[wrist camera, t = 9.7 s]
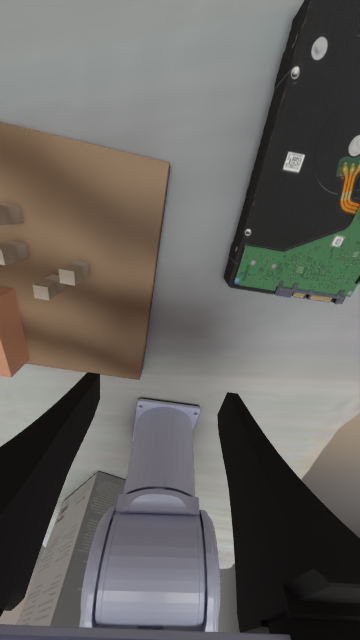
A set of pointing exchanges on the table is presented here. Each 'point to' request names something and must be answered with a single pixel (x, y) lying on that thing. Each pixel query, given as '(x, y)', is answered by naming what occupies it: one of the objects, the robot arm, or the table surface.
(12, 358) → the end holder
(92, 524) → the hard drive box
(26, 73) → the table surface
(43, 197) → the board
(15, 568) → the robot arm
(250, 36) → the table surface
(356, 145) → the disk drive
